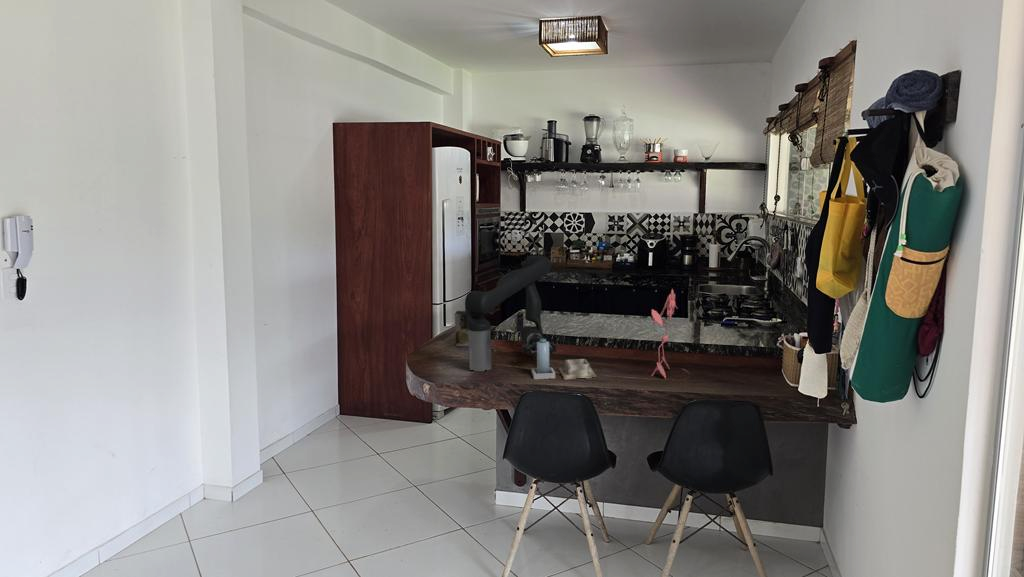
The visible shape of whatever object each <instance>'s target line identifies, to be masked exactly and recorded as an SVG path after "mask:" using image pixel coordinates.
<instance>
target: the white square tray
mask: <svg viewBox="0 0 1024 577" xmlns="http://www.w3.org/2000/svg"><path fill="white" fill-rule="evenodd" d="M550 372H551V373H550ZM531 375H532V378H533V380H544V379H546V380H547V379H549V378H550V379H556V372H555V370H554V368H553V367H549V373H542V374H537V367H536V368H533V367H532V368H531ZM550 379H549V380H550Z"/></svg>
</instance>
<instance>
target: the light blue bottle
mask: <svg viewBox="0 0 1024 577" xmlns="http://www.w3.org/2000/svg"><path fill="white" fill-rule="evenodd" d="M549 345H550V341H549V340H548V341H547V339H546V338H544V339H540V341H538V342H537V354H536V368H537V373H536V374H542V373H549V368H550V353H549Z"/></svg>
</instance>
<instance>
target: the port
mask: <svg viewBox="0 0 1024 577" xmlns="http://www.w3.org/2000/svg"><path fill="white" fill-rule="evenodd" d="M558 371H559V373H560V372H561V373H560V375H561V374H562V375H561V377H562V376H563V377H562V379H563V380H577V379H576V378H586V379H593V378H592V377H596V378H597V375H596V373H595V372H594V370H593V369H592V367H591V364H590V363H589V362H588V360H587V359H586V358H580V359H578V358H575V359H565V360H564V367H559V368H558Z"/></svg>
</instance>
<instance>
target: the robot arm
mask: <svg viewBox="0 0 1024 577" xmlns="http://www.w3.org/2000/svg"><path fill="white" fill-rule="evenodd" d="M523 264H524V265H523V268H519V269H515V270H512V271H509V272H507V273H505V274H504V275H502V276H501V277H500V278H499V279H498V281H497V283H496V287H494V288H493V289H491V290H488V291H478V290H471V291H469V292H468V293H467V295H466V296H465V301H464V309H465V310H464V311H466V322H467V325H468V332H469V346H468V361H469V362H468V363H469V364H468V366H469V367H468V368H469V371H470V370H474V371H473V372H486V371H485V370H487V371H490V370H491V369H492V345H491V344H492V343H491V341H492V340H491V323H490V321H489V320H487V319H486V318H485V317H484V316H483V315H486V314H489V313H491V312H492V311H493V310H495V308H496V307H498V306H499V305H500V304H501V303H502V302H504V301H505V300H507V299H508V298H510V297H511V296H513V295H515V294H516V293H518V292H519V291H520V290H522V289H524V288H525V295H526V296H525V315H524V316H525V318H524V319H525V320H526V321H527V322H532V323H534V324H535V326H534V325H533V326H531V325H530V326H529V325H525V326H522V327H521V328H520V331H519V334H520V333H521V337H520V339H521V338H522V339H521V340H523V341H522V342H524V343H522V344H521V350H522V351H521V352H522V354H526V353H527V354H528V355H530V356H532V355H533V354H536V355H537V342H538V341H540V339H545V338H544V336H543V337H542V336H541V334H543V335H544V332H543V328H542V327H543V326H542V322H541V320H542V319H541V318H542V316H541V314H542V312H541V311H542V301H541V297H540V294H539V292H538V289H537V287H536V280H540V279H541V278H543V277H545V276H547V275H548V274H549V272H550V271H551V268H552V261H551V260H550V258H548V257H547V256H543V255H527V257H526V258H525V260H524V263H523ZM556 352H557V345H556V344H555V343H554V342H550V343H549V355H553V354H554V353H556Z"/></svg>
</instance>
